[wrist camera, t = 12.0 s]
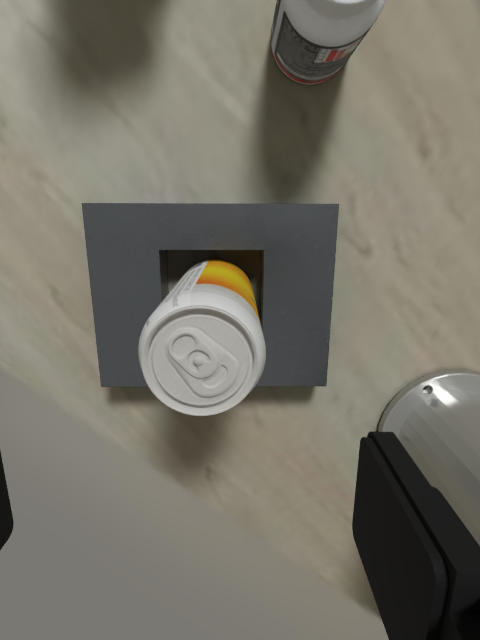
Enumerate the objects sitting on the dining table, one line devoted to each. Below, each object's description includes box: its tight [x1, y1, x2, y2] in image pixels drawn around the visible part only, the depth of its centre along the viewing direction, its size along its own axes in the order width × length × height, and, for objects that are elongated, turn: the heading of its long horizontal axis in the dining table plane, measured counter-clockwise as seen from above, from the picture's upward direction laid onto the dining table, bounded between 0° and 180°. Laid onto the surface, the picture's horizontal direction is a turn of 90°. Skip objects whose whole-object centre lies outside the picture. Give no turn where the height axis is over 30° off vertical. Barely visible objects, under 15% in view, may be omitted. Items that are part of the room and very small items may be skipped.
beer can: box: [138, 259, 266, 416], centre depth 24 cm, size 6×6×15 cm
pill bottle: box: [271, 0, 385, 85], centre depth 22 cm, size 6×6×10 cm
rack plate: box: [82, 203, 339, 387], centre depth 30 cm, size 18×14×3 cm
